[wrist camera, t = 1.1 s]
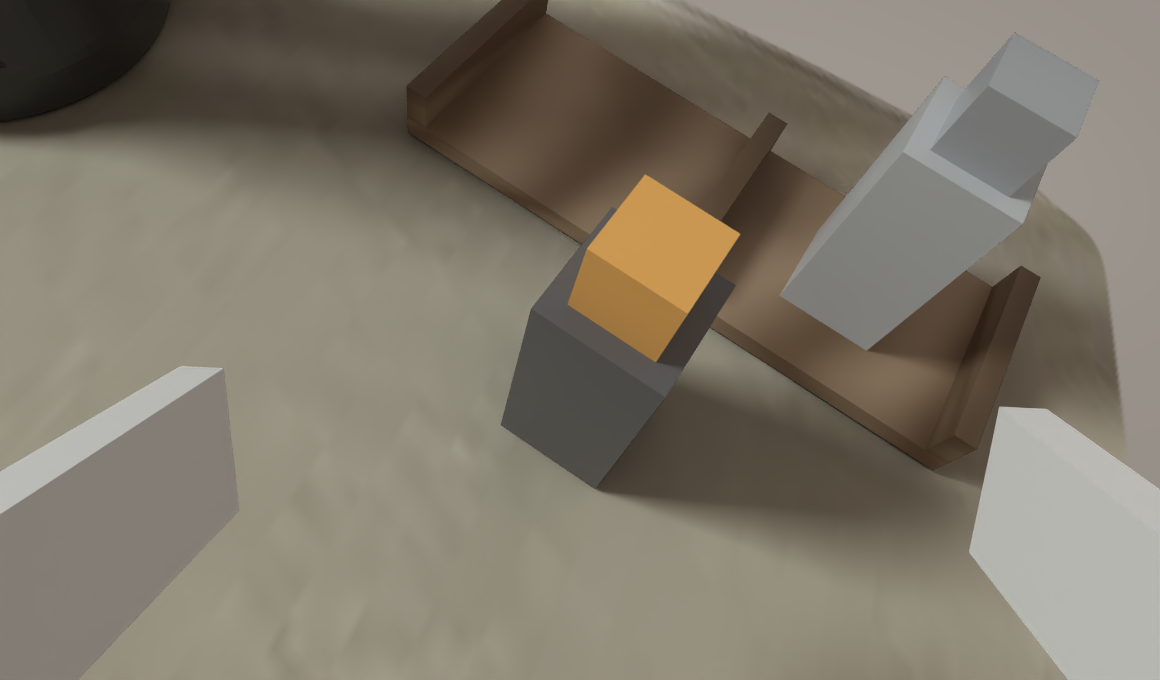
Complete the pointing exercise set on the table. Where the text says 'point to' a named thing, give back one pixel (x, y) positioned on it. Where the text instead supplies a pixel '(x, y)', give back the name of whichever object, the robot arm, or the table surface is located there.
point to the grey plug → (941, 192)
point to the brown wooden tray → (723, 190)
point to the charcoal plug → (617, 329)
